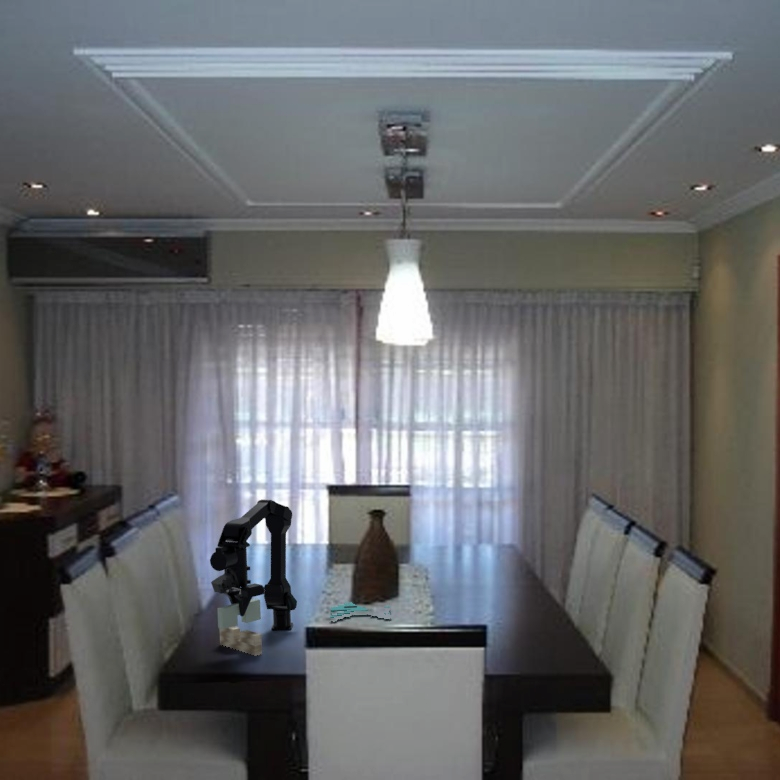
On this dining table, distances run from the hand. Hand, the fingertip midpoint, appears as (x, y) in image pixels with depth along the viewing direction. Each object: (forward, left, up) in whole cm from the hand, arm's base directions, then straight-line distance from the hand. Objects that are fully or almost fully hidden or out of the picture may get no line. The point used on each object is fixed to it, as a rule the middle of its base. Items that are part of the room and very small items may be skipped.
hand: (239, 615), depth 293 cm
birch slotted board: (0, 0, -10) cm, 10 cm away
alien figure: (-38, +35, -11) cm, 53 cm away
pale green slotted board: (0, 0, -2) cm, 2 cm away
